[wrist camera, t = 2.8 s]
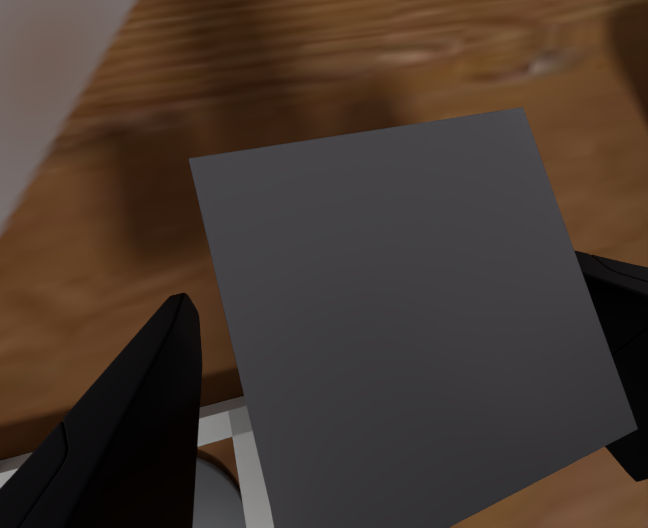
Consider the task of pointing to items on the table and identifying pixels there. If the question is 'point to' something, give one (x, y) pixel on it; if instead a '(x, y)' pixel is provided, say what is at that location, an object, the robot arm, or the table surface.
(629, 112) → the table surface
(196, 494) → the frame
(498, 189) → the block
